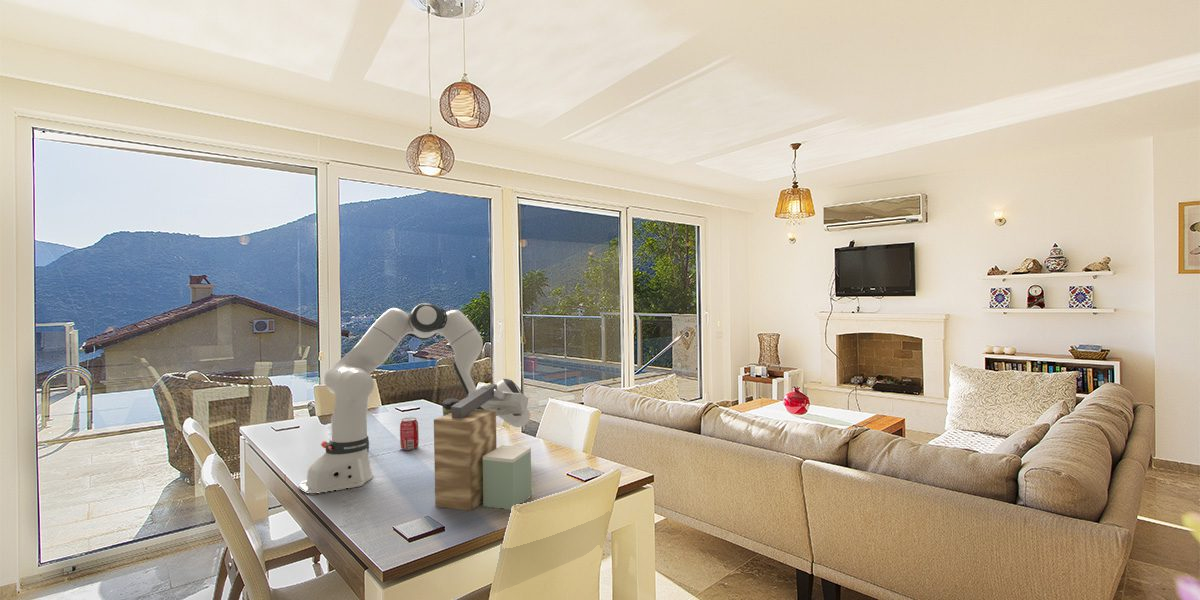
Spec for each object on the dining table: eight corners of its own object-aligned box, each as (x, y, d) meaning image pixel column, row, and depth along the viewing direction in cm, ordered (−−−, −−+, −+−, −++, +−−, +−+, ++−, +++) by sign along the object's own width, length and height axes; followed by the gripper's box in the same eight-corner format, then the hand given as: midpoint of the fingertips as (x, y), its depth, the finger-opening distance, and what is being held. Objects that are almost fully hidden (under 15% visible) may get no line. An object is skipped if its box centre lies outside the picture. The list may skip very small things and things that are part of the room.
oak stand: (470, 510, 163) (468, 422, 162) (435, 505, 167) (433, 419, 166) (497, 491, 178) (495, 410, 177) (464, 487, 182) (463, 408, 181)
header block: (513, 510, 163) (512, 459, 162) (483, 506, 166) (482, 456, 166) (531, 495, 174) (530, 447, 174) (502, 492, 177) (502, 445, 177)
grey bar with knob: (462, 418, 167) (460, 405, 166) (451, 417, 168) (450, 404, 167) (497, 394, 187) (496, 381, 186) (488, 393, 188) (487, 381, 188)
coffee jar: (467, 443, 233) (466, 399, 232) (448, 447, 228) (447, 402, 228) (458, 438, 241) (458, 395, 240) (440, 441, 236) (440, 398, 236)
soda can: (412, 444, 232) (411, 416, 232) (422, 447, 227) (421, 418, 227) (396, 448, 226) (396, 419, 226) (406, 452, 222) (406, 422, 222)
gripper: (480, 394, 200) (462, 380, 189) (532, 398, 194) (516, 383, 182) (476, 411, 197) (457, 398, 186) (528, 415, 191) (512, 402, 179)
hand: (487, 391), depth 184 cm, fingers closed on grey bar with knob, 3 cm apart
